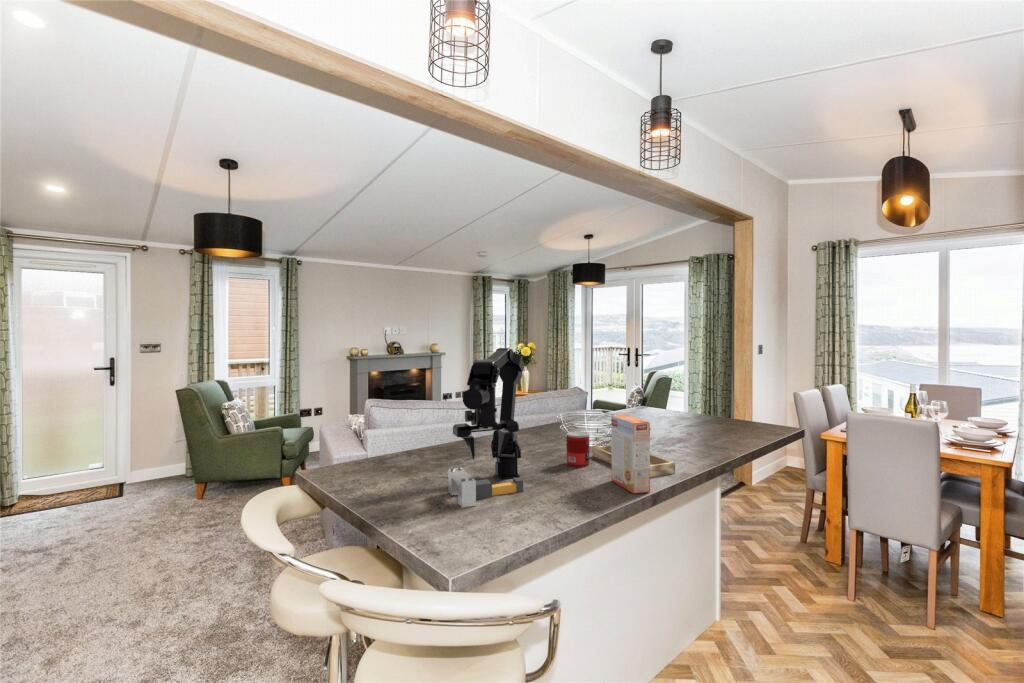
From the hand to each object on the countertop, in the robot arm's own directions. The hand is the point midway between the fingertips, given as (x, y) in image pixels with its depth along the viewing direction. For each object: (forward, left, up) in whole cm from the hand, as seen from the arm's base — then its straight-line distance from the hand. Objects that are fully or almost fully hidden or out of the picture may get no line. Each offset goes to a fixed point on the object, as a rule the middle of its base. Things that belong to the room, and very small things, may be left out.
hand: (486, 457), depth 142 cm
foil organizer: (-57, -9, -11) cm, 59 cm away
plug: (-3, 0, -11) cm, 12 cm away
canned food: (-40, -17, -11) cm, 45 cm away
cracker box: (-42, +11, -11) cm, 45 cm away
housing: (+8, 0, -11) cm, 13 cm away
